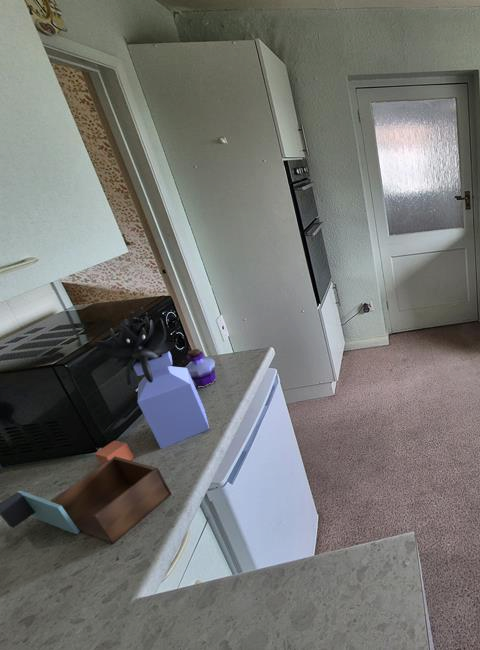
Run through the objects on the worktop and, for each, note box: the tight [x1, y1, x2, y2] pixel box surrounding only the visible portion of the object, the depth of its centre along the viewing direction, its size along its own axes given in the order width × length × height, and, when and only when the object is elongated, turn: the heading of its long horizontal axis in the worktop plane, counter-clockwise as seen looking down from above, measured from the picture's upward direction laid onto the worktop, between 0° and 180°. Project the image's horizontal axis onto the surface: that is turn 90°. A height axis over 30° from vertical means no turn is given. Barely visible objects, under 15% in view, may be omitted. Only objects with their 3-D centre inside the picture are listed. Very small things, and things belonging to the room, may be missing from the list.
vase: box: [93, 306, 210, 450], centre depth 94 cm, size 14×12×35 cm
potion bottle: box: [184, 348, 216, 386], centre depth 121 cm, size 9×9×12 cm
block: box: [93, 440, 135, 466], centre depth 92 cm, size 4×4×4 cm
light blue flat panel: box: [0, 490, 81, 535], centre depth 74 cm, size 4×14×8 cm, turn 72°
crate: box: [50, 456, 172, 545], centre depth 78 cm, size 12×14×8 cm
